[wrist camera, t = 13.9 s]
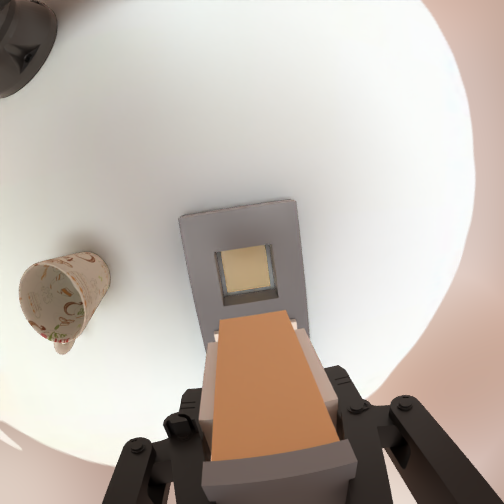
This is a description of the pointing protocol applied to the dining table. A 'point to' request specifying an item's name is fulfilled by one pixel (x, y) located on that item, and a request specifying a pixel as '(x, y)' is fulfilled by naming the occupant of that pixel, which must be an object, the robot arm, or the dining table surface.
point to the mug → (63, 296)
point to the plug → (271, 421)
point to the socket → (245, 263)
